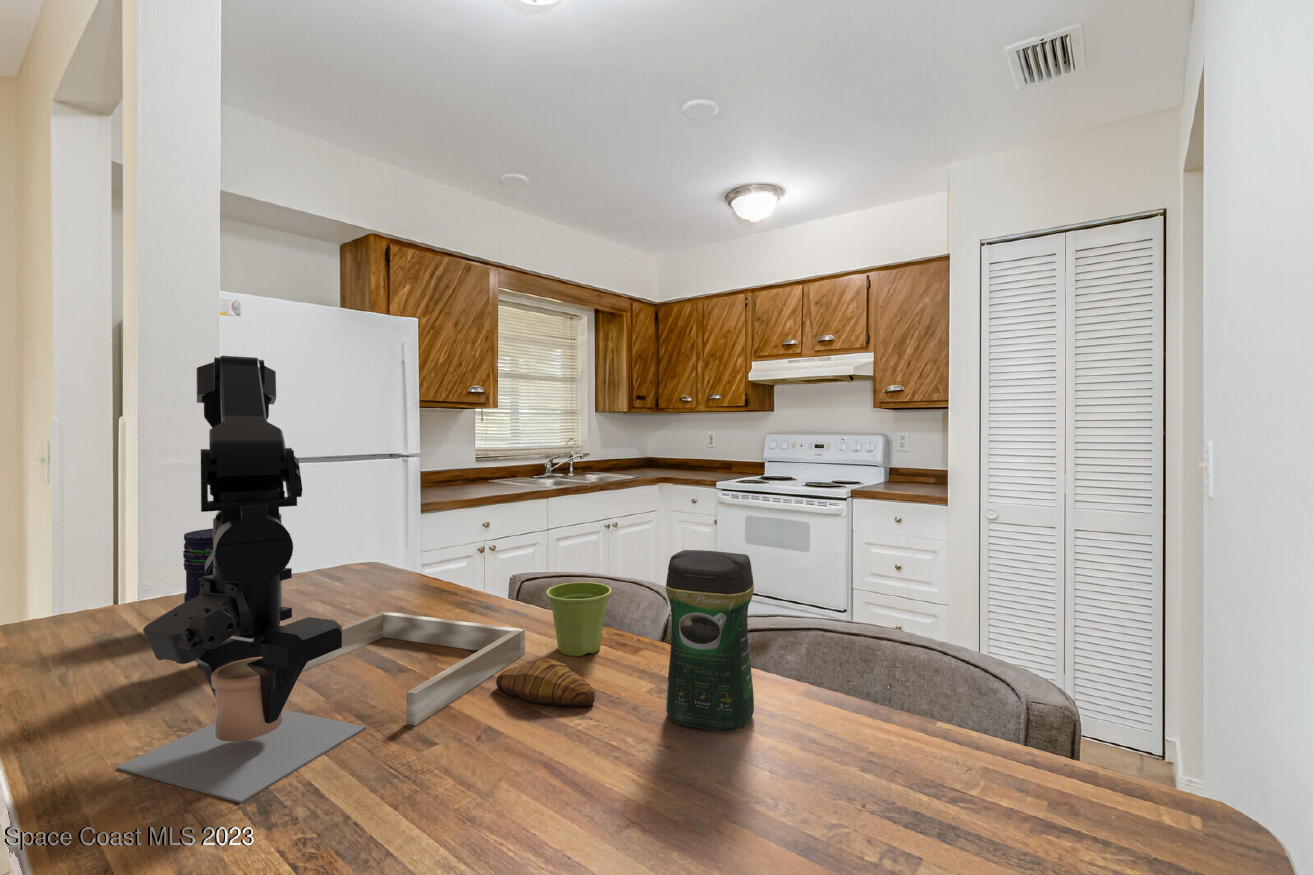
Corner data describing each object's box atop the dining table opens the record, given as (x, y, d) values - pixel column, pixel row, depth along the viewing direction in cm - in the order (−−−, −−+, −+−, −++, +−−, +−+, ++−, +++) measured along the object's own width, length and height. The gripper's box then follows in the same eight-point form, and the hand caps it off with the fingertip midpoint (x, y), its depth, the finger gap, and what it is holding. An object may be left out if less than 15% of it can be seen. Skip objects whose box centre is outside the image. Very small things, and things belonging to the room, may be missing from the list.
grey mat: (116, 768, 58) (116, 766, 58) (256, 705, 72) (256, 703, 72) (240, 803, 53) (240, 801, 53) (366, 728, 66) (366, 726, 66)
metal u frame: (245, 692, 75) (244, 663, 75) (382, 633, 96) (382, 611, 96) (415, 725, 67) (415, 693, 67) (524, 653, 88) (525, 629, 88)
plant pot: (600, 664, 85) (601, 600, 85) (536, 658, 87) (536, 596, 86) (618, 640, 94) (618, 583, 94) (559, 636, 96) (559, 580, 96)
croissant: (479, 700, 74) (479, 659, 74) (514, 679, 80) (514, 641, 80) (578, 722, 69) (578, 677, 69) (607, 698, 75) (607, 656, 75)
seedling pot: (196, 736, 60) (195, 675, 60) (255, 709, 66) (255, 653, 66) (242, 747, 58) (242, 684, 58) (299, 718, 64) (299, 660, 64)
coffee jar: (759, 709, 71) (761, 548, 71) (743, 741, 64) (745, 562, 64) (680, 695, 75) (681, 542, 75) (656, 724, 68) (657, 554, 67)
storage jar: (172, 626, 100) (171, 533, 99) (239, 610, 108) (238, 525, 108) (201, 637, 94) (200, 539, 94) (269, 620, 103) (268, 530, 102)
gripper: (92, 572, 57) (94, 739, 58) (238, 591, 51) (240, 778, 52) (212, 550, 68) (213, 691, 68) (346, 563, 62) (346, 718, 62)
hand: (249, 717), depth 62 cm, fingers closed on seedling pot, 6 cm apart
